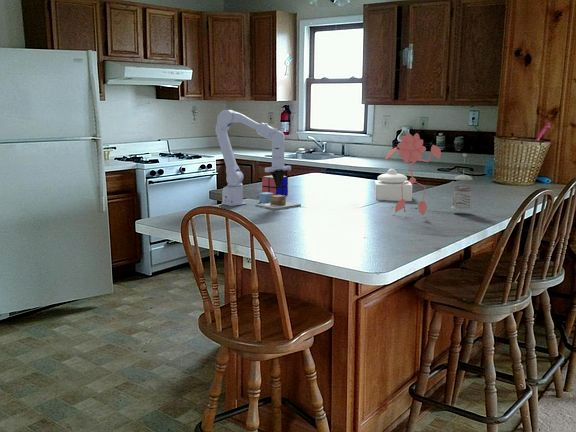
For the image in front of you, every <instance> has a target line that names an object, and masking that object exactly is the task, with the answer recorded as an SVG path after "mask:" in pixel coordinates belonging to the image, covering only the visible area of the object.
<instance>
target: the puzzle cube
mask: <svg viewBox="0 0 576 432" xmlns="http://www.w3.org/2000/svg"><path fill="white" fill-rule="evenodd" d="M288 179H289V177H288V176H286V175H284V177H283V179H282V183H281V187H276V185H275V181H274V178H273V176H272V174H271V175H265V176H261V185H262V186H261V193H264V192H269V193H274V195H283V196H288V195H289V180H288Z"/></svg>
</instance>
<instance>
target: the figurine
mask: <svg viewBox="0 0 576 432" xmlns="http://www.w3.org/2000/svg"><path fill="white" fill-rule="evenodd" d="M400 140H401V141H400V142H398V144H397V146H395V147H393V148H391V150H389V152H388V153H387V154H386V156H385V158H384V160H388V159H389V158H391V157H392V156H393V155H394V154H395V153H396V152H398V155H399V156H400V157H401V159H402V160H403V162H404V163H409V162H411V163H410V164H409V170H410V171H409V172H410V175H411V177H410V178H409V180H407V181H408V182H410V183H411V184H412V185H413V184H415V183H416V184H418V185H420V186H422V187H423V188H424V190H423V196H422V199H421V200H420V201H419V202H418V205H417V209H418V212H419V213H420V214H421V215H422V216H424V215H425V214H426V212H427V209H428V206H427V204H426V201H424V199H425V194H426V186H425V185H423V184H421V183H420V182H419V183H418V182H417V179H416V177H413V171H412V167H411V166H412V165H414V163H417V162H418V161H420V162H426V163H429V162H430V160H431V157H432V155H433V157H435V158H437V160H440V159H441V156H442V152H441V148H440V147H438V145H435V144H432V146H431V147H430V153H429V157H428V159H427V160H425V159H422V158H423V154H422V153H425V152H426V150H427V148H426V146H424V139H421V137H420V134H419V133H415V134H414V135H412V134H411V133H409V132H407V133H406V135H402V136H401V137H400ZM408 182H406V183H408ZM406 183H404V184H406ZM404 184H402V185H404ZM405 205H406V201H405V199H403V189H402V199H401V200H400V201H397V203H396V204H395V207H394V209H391V210H394V213H395V214H396V213H398V212H400V211H401V210H402V209H403V212H404V213H405V212H406V208H405ZM392 216H393V217H395V215H394V214H392ZM397 217H398V218H401V216H399V215H397ZM406 218H409V219H413V217H410V216H405V219H406ZM426 218H427V217H424V219H426Z"/></svg>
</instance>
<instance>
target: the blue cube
mask: <svg viewBox="0 0 576 432" xmlns="http://www.w3.org/2000/svg"><path fill="white" fill-rule="evenodd" d="M273 195H274V193H269V192H264V193H262V192H259V193H258V198H259V199H258V200H259V201H258V203H259V202H261V203H260V204H262V203H269V202H271V196H273Z"/></svg>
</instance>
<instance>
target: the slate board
mask: <svg viewBox="0 0 576 432" xmlns="http://www.w3.org/2000/svg"><path fill="white" fill-rule="evenodd" d="M258 206H260V207H259V208H262V207H265V208H264V209H267V208H269V209H268V210H271V209H273V210H272V211H281V210H286V209H292V208H299V207H300V208H301V207H302V204H301V203H296V202H290V201H286V204H285V205H278V206H277V205H272V204H271V202H269V203H256V204H255V207H258ZM280 209H281V210H280Z"/></svg>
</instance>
